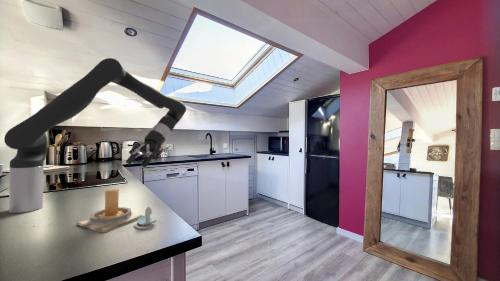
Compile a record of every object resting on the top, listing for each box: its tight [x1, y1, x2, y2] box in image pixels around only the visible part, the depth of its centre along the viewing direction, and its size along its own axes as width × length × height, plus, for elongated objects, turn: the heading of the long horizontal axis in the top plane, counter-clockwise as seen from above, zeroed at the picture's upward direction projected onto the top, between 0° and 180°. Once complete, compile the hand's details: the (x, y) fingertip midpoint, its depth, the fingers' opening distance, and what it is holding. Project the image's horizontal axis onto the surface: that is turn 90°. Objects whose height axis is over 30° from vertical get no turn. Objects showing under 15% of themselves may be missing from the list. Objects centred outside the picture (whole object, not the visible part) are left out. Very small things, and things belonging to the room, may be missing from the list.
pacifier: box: [134, 206, 158, 230], centre depth 71 cm, size 7×6×6 cm
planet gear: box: [98, 188, 124, 218], centre depth 74 cm, size 8×8×10 cm
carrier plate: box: [76, 206, 144, 234], centre depth 74 cm, size 14×14×3 cm
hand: (135, 164), depth 83 cm, fingers open, 8 cm apart
